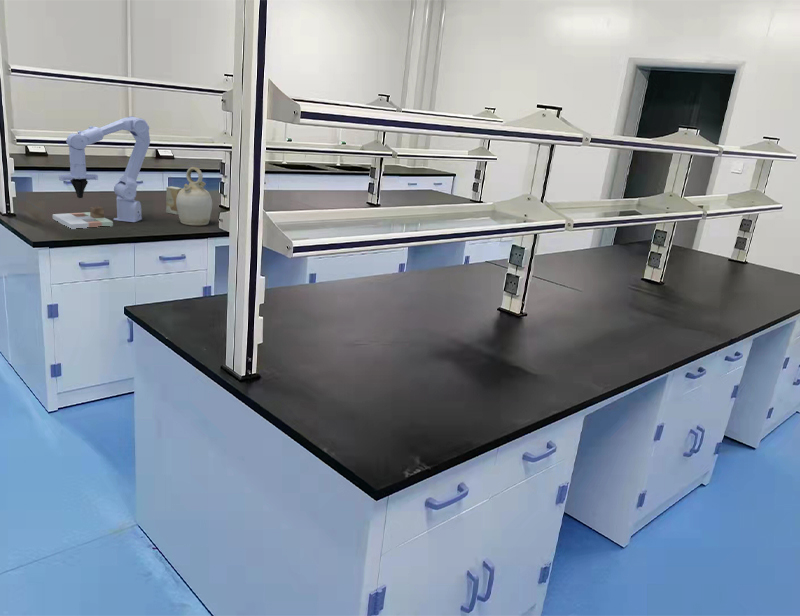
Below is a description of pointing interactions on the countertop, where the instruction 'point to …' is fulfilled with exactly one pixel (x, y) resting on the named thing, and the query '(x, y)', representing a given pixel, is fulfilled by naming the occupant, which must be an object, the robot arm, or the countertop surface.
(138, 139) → the robot arm
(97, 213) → the walnut block
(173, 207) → the skincare box
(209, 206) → the jug
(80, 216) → the trap board
